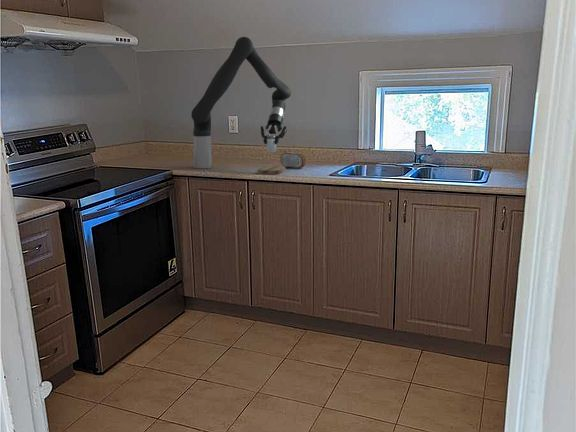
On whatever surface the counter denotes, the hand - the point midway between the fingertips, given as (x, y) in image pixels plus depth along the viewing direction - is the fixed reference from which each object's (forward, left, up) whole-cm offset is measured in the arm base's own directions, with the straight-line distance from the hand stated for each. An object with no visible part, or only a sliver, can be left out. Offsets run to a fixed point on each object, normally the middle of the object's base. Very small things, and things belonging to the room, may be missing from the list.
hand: (270, 143), depth 272 cm
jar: (0, +2, -5) cm, 5 cm away
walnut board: (0, +2, -15) cm, 15 cm away
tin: (+7, +19, -15) cm, 25 cm away
